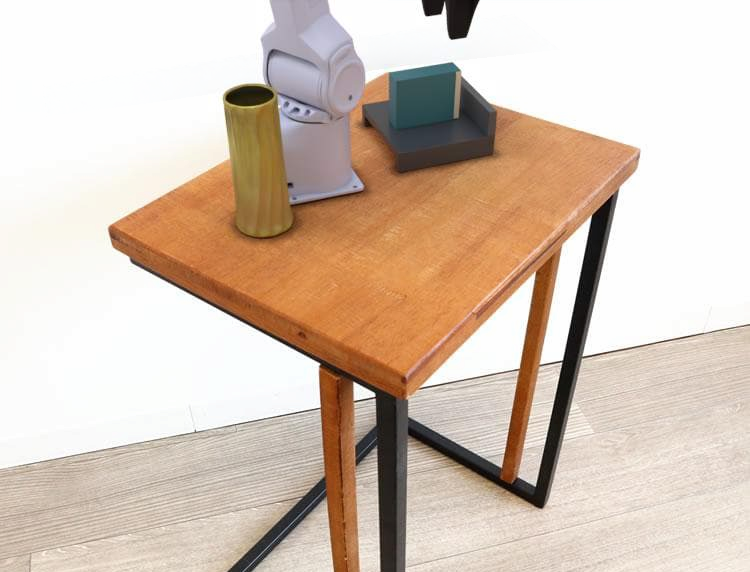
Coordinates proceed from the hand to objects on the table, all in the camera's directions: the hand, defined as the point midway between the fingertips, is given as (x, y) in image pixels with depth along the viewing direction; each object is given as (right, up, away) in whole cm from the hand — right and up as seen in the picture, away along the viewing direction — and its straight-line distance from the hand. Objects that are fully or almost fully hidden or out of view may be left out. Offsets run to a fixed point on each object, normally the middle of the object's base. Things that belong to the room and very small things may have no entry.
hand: (445, 26), depth 102 cm
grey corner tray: (-2, -13, +1) cm, 13 cm away
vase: (-20, -26, -12) cm, 35 cm away
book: (-3, -12, -1) cm, 12 cm away
